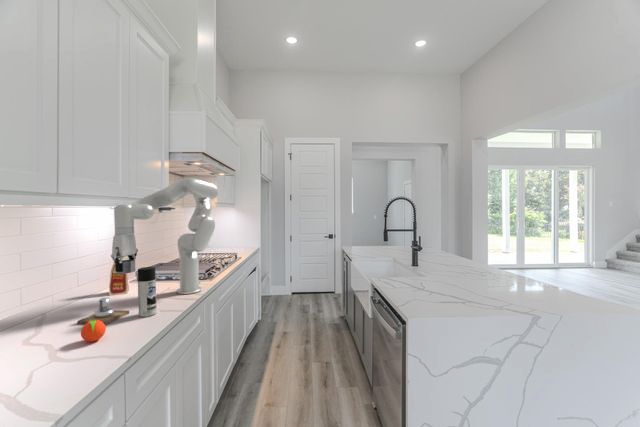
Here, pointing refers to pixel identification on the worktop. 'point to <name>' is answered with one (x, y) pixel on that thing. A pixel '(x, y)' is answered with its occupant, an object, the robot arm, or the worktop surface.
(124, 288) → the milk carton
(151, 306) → the spray can
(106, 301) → the grey rounded fixture
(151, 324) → the worktop surface
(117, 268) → the robot arm
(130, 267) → the octagonal pot
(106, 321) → the base plate
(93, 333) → the clementine
